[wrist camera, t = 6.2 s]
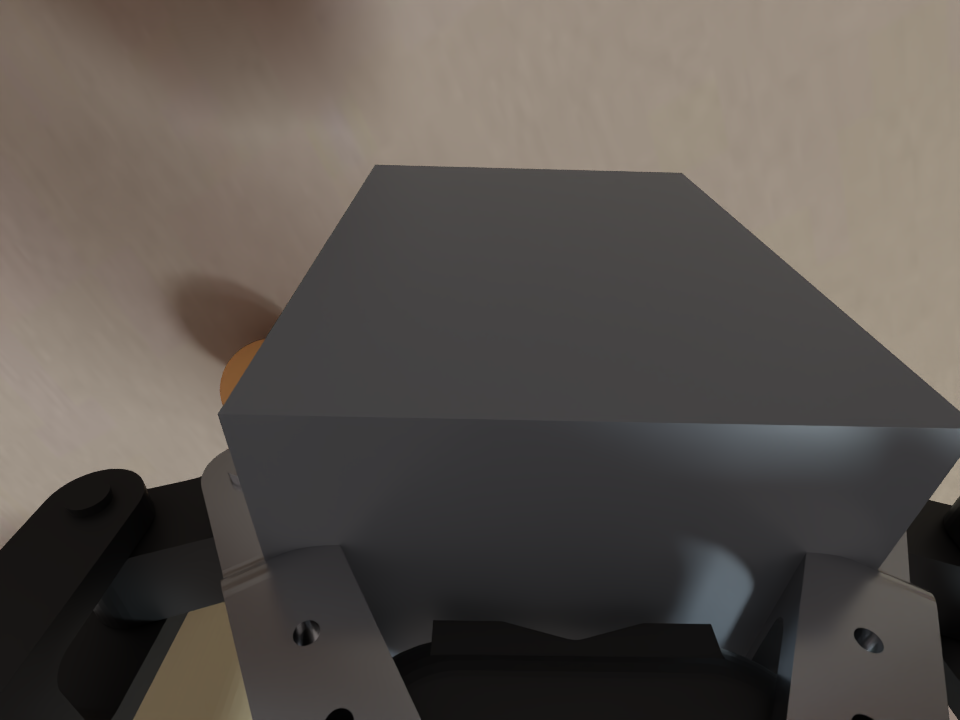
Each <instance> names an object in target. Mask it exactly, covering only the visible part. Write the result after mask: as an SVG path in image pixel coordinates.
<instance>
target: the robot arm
mask: <svg viewBox="0 0 960 720" xmlns="http://www.w3.org/2000/svg"><path fill="white" fill-rule="evenodd" d="M222 602H225V606H226V610H227V614H228V618H229V622H230V627H231V631H232V635H233V639H234V644H235V648H236V652H237V656H238V661H239V665H240V669H241V673H242V678H243V682H244V686H245V690H246V695H247V699H248V703H249V707H250V712H251V716H252V720H949V710H948V706H949V707H950V709H951V710H952V711H953V713H954V714H955V716H956V717H957V719H958V720H960V496H959V498H958V499H957V500H956V502H955V503H954V504H953V505H952V506H951V505H947V504H943V503H939V502H935V501H931V500H928V501H927V503H926V504H925V506H924V507H923V508H922V510H921V511H920V512H919V514H918V515H917V517H916V518H915V519H914V521H913V522H912V523H911V525H910V526H909V528H908V529H907V530H906V532H905V533H904V534H903V536H902V537H901V539H900V540H899V541H898V543H897V544H896V545H895V547H894V548H893V550H892V551H891V552H890V554H889V555H888V556H887V558H886V559H885V561H884V562H883V563H882V565H881V566H880V567H879V569H878V570H877V569H874V568H872V567H869V566H867V565H865V564H862V563H860V562H857V561H855V560H852V559H849V558H846V557H842V556H837V555H831V554H823V553H811V552H806V554H805V556H804V557H803V559H802V561H801V562H800V564H799V566H798V568H797V569H796V571H795V573H794V574H793V576H792V578H791V579H790V581H789V583H788V585H787V586H786V588H785V590H784V591H783V593H782V595H781V596H780V598H779V600H778V602H777V603H776V605H775V607H774V608H773V610H772V612H771V614H770V615H769V617H768V619H767V620H766V622H765V624H764V625H763V627H762V629H761V631H760V632H759V634H758V636H757V637H756V639H755V641H754V643H753V644H752V646H751V648H750V649H749V651H748V653H747V654H746V656H745V657H744V656H741V655H739V654H736V653H733V652H731V651H728V650H725V649H722V648H720V647H719V644H718V642H717V639H716V636H715V633H714V631H713V628H712V625H711V624H676V623H641V624H638V625H634V626H630V627H626V628H623V629H619V630H615V631H611V632H607V633H604V634H600V635H596V636H592V637H589V638H585V639H580V640H571V639H566V638H562V637H559V636H555V635H551V634H548V633H544V632H540V631H537V630H533V629H529V628H525V627H522V626H518V625H514V624H511V623H507V622H503V621H458V620H433V628H432V641H431V642H429V643H425V644H422V645H418V646H415V647H413V648H411V649H408V650H406V651H403V652H401V653H399V654H397V655H395V656H394V657H392V656H391V654H390V652H389V650H388V647H387V645H386V643H385V641H384V639H383V637H382V635H381V632H380V630H379V628H378V626H377V624H376V622H375V620H374V617H373V615H372V613H371V611H370V609H369V607H368V605H367V602H366V600H365V598H364V596H363V594H362V592H361V590H360V587H359V585H358V583H357V581H356V579H355V577H354V575H353V572H352V570H351V568H350V566H349V564H348V562H347V560H346V557H345V555H344V553H343V551H342V549H341V547H340V545H323V546H312V547H305V548H299V549H295V550H290V551H287V552H284V553H281V554H279V555H276V556H274V557H272V558H269V559H267V560H265V559H264V556H263V553H262V550H261V547H260V544H259V540H258V537H257V534H256V531H255V528H254V525H253V522H252V519H251V516H250V513H249V509H248V506H247V503H246V500H245V497H244V494H243V491H242V488H241V485H240V482H239V478H238V475H237V472H236V469H235V466H234V463H233V460H232V457H231V454H230V450H229V449H227V450H225V451H224V452H222V453H221V454H219V455H218V456H216V457H215V458H214V459H213V460H212V461H211V462H210V463H209V464H208V465H207V467H206V468H205V470H204V472H203V474H202V476H201V477H199V478H195V479H191V480H187V481H183V482H178V483H173V484H169V485H164V486H159V487H155V488H150V489H147V488H146V486H145V484H144V482H143V480H142V478H141V477H140V476H139V475H138V474H136V473H134V472H133V471H129V470H125V469H108V470H101V471H97V472H93V473H90V474H87V475H84V476H82V477H79V478H77V479H75V480H73V481H71V482H69V483H67V484H66V485H64V486H63V487H61V488H60V489H58V490H57V491H56V492H54V493H53V494H52V495H51V496H50V497H49V498H48V499H47V500H46V501H45V502H44V503H43V504H42V505H41V506H40V507H39V508H38V510H37V511H36V512H35V513H34V514H33V515H32V516H31V517H30V518H29V519H28V520H27V522H26V523H25V524H24V525H23V526H22V527H21V528H20V529H19V530H18V531H17V532H16V534H15V535H14V536H13V537H12V538H11V539H10V540H9V541H8V542H7V543H6V544H5V546H4V547H3V548H2V549H1V550H0V720H133V719H134V717H135V715H136V713H137V711H138V709H139V707H140V705H141V703H142V701H143V699H144V697H145V695H146V693H147V691H148V690H149V688H150V686H151V684H152V682H153V680H154V678H155V676H156V674H157V672H158V670H159V668H160V666H161V664H162V662H163V660H164V659H165V657H166V655H167V653H168V651H169V649H170V647H171V645H172V643H173V641H174V639H175V637H176V635H177V633H178V631H179V629H180V628H181V626H182V624H183V622H184V620H185V618H186V616H187V614H188V612H190V611H194V610H197V609H201V608H204V607H208V606H211V605H215V604H218V603H222Z"/></svg>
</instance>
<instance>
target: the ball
mask: <svg viewBox="0 0 960 720" xmlns="http://www.w3.org/2000/svg"><path fill="white" fill-rule="evenodd" d="M264 340H265V339H262V340H258V341H255V342H253V343H251V344H248V345H247V346H245V347H243V348H242V349H240V350H239V351H238V352H237V353H236V354H235V355H234V356H233V357H232V358H231V359H230V361H229V362H228V363H227V365H226V367H225V369H224V371H223V375H222V378H221V383H220V396H221V401H222V404H223V405H224V404H225V402H226V400H227V399H228V397H229V396H230V394H231V392H232V391H233V389H234V388H235V386H236V385H237V383H238V381H239V380H240V378H241V377H242V375H243V373H244V372H245V370H246V369H247V367H248V366H249V364H250V362H251V361H252V359H253V358H254V356H255V354H256V353H257V351H258V350H259V348H260V347H261V345H262V343H263V342H264Z"/></svg>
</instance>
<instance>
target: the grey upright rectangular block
mask: <svg viewBox="0 0 960 720" xmlns="http://www.w3.org/2000/svg"><path fill="white" fill-rule="evenodd" d="M218 416H219V419H220V423H221V426H222V429H223V432H224V435H225V438H226V441H227V444H228V447H229V450H230V454H231V457H232V460H233V463H234V466H235V469H236V472H237V475H238V478H239V482H240V485H241V488H242V491H243V494H244V497H245V500H246V503H247V506H248V509H249V513H250V516H251V519H252V522H253V525H254V528H255V531H256V534H257V537H258V540H259V544H260V547H261V550H262V553H263V556H264V559H265V560H267V559H269V558H272V557H274V556H276V555H279V554H281V553H284V552H287V551H290V550H295V549H299V548H305V547H312V546H323V545H340V547H341V549H342V551H343V553H344V555H345V557H346V560H347V562H348V564H349V566H350V568H351V570H352V572H353V575H354V577H355V579H356V581H357V583H358V585H359V587H360V590H361V592H362V594H363V596H364V598H365V600H366V602H367V605H368V607H369V609H370V611H371V613H372V615H373V617H374V620H375V622H376V624H377V626H378V628H379V630H380V632H381V635H382V637H383V639H384V641H385V643H386V645H387V647H388V650H389V652H390V654H391V656H392V657H394V656H395V655H397V654H399V653H401V652H403V651H406V650H408V649H411V648H413V647H415V646H418V645H422V644H425V643H429V642H431V641H432V628H433V620H458V621H503V622H507V623H511V624H514V625H518V626H522V627H525V628H529V629H533V630H537V631H540V632H544V633H548V634H551V635H555V636H559V637H562V638H566V639H571V640H580V639H585V638H589V637H592V636H596V635H600V634H604V633H607V632H611V631H615V630H619V629H623V628H626V627H630V626H634V625H638V624H641V623H676V624H711V625H712V628H713V631H714V633H715V636H716V639H717V642H718V644H719V647H720V648H722V649H725V650H728V651H731V652H733V653H736V654H739V655H741V656H744V657H745V656H746V654H747V653H748V651H749V649H750V648H751V646H752V644H753V643H754V641H755V639H756V637H757V636H758V634H759V632H760V631H761V629H762V627H763V625H764V624H765V622H766V620H767V619H768V617H769V615H770V614H771V612H772V610H773V608H774V607H775V605H776V603H777V602H778V600H779V598H780V596H781V595H782V593H783V591H784V590H785V588H786V586H787V585H788V583H789V581H790V579H791V578H792V576H793V574H794V573H795V571H796V569H797V568H798V566H799V564H800V562H801V561H802V559H803V557H804V556H805V554H806V552H811V553H823V554H831V555H837V556H842V557H846V558H849V559H852V560H855V561H857V562H860V563H862V564H865V565H867V566H869V567H872V568H874V569H877V570H878V569H879V567H880V566H881V565H882V563H883V562H884V561H885V559H886V558H887V556H888V555H889V554H890V552H891V551H892V550H893V548H894V547H895V545H896V544H897V543H898V541H899V540H900V539H901V537H902V536H903V534H904V533H905V532H906V530H907V529H908V528H909V526H910V525H911V523H912V522H913V521H914V519H915V518H916V517H917V515H918V514H919V512H920V511H921V510H922V508H923V507H924V506H925V504H926V503H927V501H928V500H929V499H930V497H931V496H932V495H933V493H934V492H935V490H936V489H937V488H938V486H939V485H940V484H941V482H942V481H943V479H944V478H945V477H946V475H947V474H948V473H949V471H950V470H951V468H952V467H953V466H954V464H955V463H956V462H957V460H958V459H959V457H960V411H959V410H958V409H956V408H955V407H954V406H953V405H952V404H951V403H949V402H948V401H947V400H946V399H945V398H944V397H942V396H941V395H940V394H939V393H938V392H937V391H935V390H934V389H933V388H932V387H931V386H930V385H928V384H927V383H926V382H925V381H924V380H923V379H921V378H920V377H919V376H918V375H917V374H916V373H914V372H913V371H912V370H911V369H910V368H909V367H907V366H906V365H905V364H904V363H903V362H902V361H900V360H899V359H898V358H897V357H896V356H895V355H893V354H892V353H891V352H890V351H889V350H888V349H886V348H885V347H884V346H883V345H882V344H881V343H879V342H878V341H877V340H876V339H875V338H874V337H872V336H871V335H870V334H869V333H868V332H867V331H865V330H864V329H863V328H862V327H861V326H860V325H858V324H857V323H856V322H855V321H854V320H853V319H851V318H850V317H849V316H848V315H847V314H846V313H844V312H843V311H842V310H841V309H840V308H839V307H837V306H836V305H835V304H834V303H833V302H832V301H830V300H829V299H828V298H827V297H826V296H825V295H823V294H822V293H821V292H820V291H819V290H818V289H816V288H815V287H814V286H813V285H812V284H811V283H809V282H808V281H807V280H806V279H805V278H804V277H802V276H801V275H800V274H799V273H798V272H797V271H795V270H794V269H793V268H792V267H791V266H790V265H788V264H787V263H786V262H785V261H784V260H783V259H781V258H780V257H779V256H778V255H777V254H776V253H774V252H773V251H772V250H771V249H770V248H769V247H767V246H766V245H765V244H764V243H763V242H762V241H760V240H759V239H758V238H757V237H756V236H755V235H753V234H752V233H751V232H750V231H749V230H748V229H746V228H745V227H744V226H743V225H742V224H741V223H739V222H738V221H737V220H736V219H735V218H734V217H732V216H731V215H730V214H729V213H728V212H727V211H725V210H724V209H723V208H722V207H721V206H720V205H718V204H717V203H716V202H715V201H714V200H713V199H711V198H710V197H709V196H708V195H707V194H706V193H704V192H703V191H702V190H701V189H700V188H699V187H697V186H696V185H695V184H694V183H693V182H692V181H690V180H689V179H688V178H687V177H686V176H685V175H683V174H682V173H664V172H626V171H589V170H551V169H513V168H475V167H438V166H400V165H375V166H374V168H373V169H372V171H371V172H370V174H369V176H368V177H367V179H366V180H365V182H364V183H363V185H362V187H361V188H360V190H359V191H358V193H357V195H356V196H355V198H354V199H353V201H352V202H351V204H350V206H349V207H348V209H347V210H346V212H345V214H344V215H343V217H342V218H341V220H340V221H339V223H338V225H337V226H336V228H335V229H334V231H333V233H332V234H331V236H330V237H329V239H328V240H327V242H326V244H325V245H324V247H323V248H322V250H321V252H320V253H319V255H318V256H317V258H316V259H315V261H314V263H313V264H312V266H311V267H310V269H309V271H308V272H307V274H306V275H305V277H304V278H303V280H302V282H301V283H300V285H299V286H298V288H297V290H296V291H295V293H294V294H293V296H292V297H291V299H290V301H289V302H288V304H287V305H286V307H285V309H284V310H283V312H282V313H281V315H280V316H279V318H278V320H277V321H276V323H275V324H274V326H273V328H272V329H271V331H270V332H269V334H268V335H267V337H266V339H265V340H264V342H263V343H262V345H261V347H260V348H259V350H258V351H257V353H256V354H255V356H254V358H253V359H252V361H251V362H250V364H249V366H248V367H247V369H246V370H245V372H244V373H243V375H242V377H241V378H240V380H239V381H238V383H237V385H236V386H235V388H234V389H233V391H232V392H231V394H230V396H229V397H228V399H227V400H226V402H225V404H224V405H223V407H222V408H221V410H220V411H219V413H218Z"/></svg>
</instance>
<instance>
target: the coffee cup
mask: <svg viewBox="0 0 960 720" xmlns="http://www.w3.org/2000/svg"><path fill="white" fill-rule="evenodd" d="M133 720H252V716H251V712H250V707H249V703H248V699H247V695H246V690H245V686H244V682H243V678H242V673H241V669H240V665H239V661H238V656H237V652H236V648H235V644H234V639H233V635H232V631H231V627H230V622H229V618H228V614H227V610H226V606H225V602H222V603H218V604H215V605H211V606H208V607H204V608H201V609H197V610H194V611H190V612H188V614H187V616H186V618H185V620H184V622H183V624H182V626H181V628H180V629H179V631H178V633H177V635H176V637H175V639H174V641H173V643H172V645H171V647H170V649H169V651H168V653H167V655H166V657H165V659H164V660H163V662H162V664H161V666H160V668H159V670H158V672H157V674H156V676H155V678H154V680H153V682H152V684H151V686H150V688H149V690H148V691H147V693H146V695H145V697H144V699H143V701H142V703H141V705H140V707H139V709H138V711H137V713H136V715H135V717H134V719H133Z"/></svg>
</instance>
